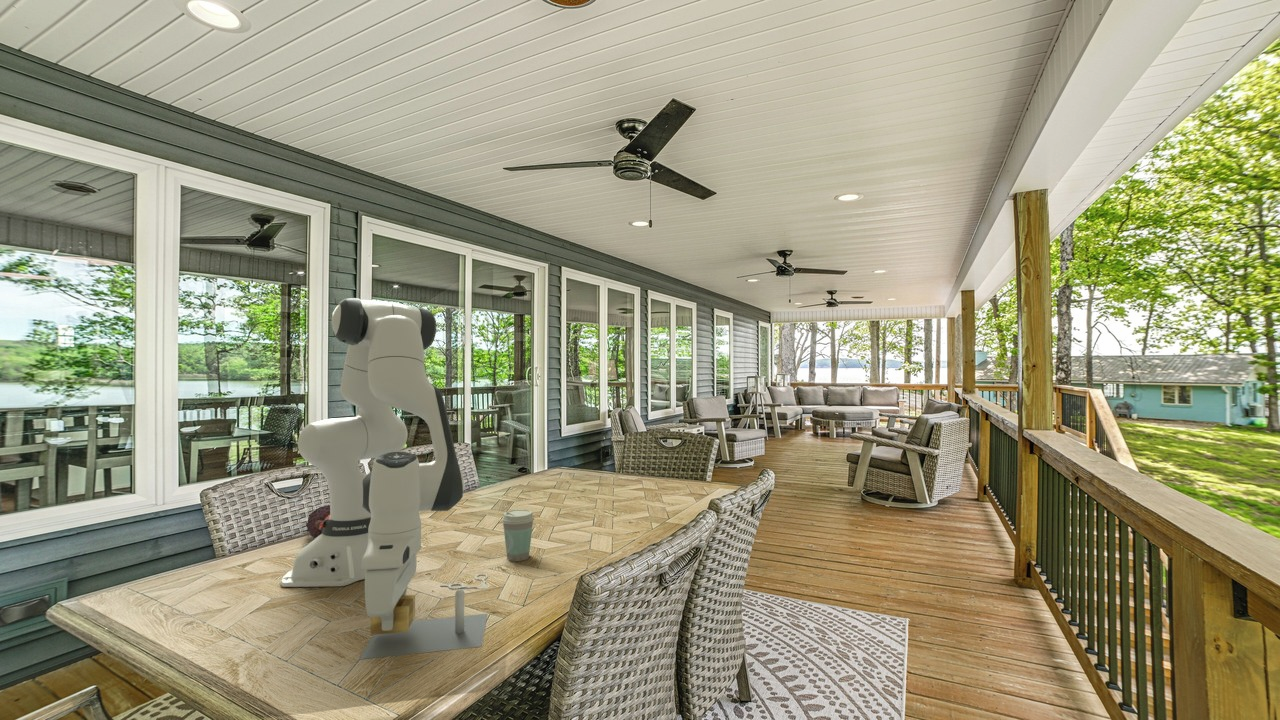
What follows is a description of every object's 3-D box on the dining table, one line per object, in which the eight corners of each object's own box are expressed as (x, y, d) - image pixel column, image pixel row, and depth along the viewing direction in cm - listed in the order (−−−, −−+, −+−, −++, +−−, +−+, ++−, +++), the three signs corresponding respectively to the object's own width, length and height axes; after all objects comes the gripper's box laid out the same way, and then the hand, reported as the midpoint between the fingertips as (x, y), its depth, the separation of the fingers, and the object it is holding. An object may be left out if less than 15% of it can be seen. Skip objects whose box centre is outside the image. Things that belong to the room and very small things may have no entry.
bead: (370, 634, 92) (371, 612, 92) (380, 618, 98) (381, 597, 98) (407, 631, 93) (407, 609, 93) (414, 616, 99) (415, 594, 99)
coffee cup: (504, 552, 146) (504, 509, 146) (535, 551, 146) (535, 508, 147) (499, 563, 137) (499, 517, 137) (532, 562, 138) (532, 516, 138)
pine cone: (297, 536, 161) (297, 504, 162) (332, 529, 169) (332, 498, 169) (317, 548, 150) (318, 513, 150) (354, 540, 157) (355, 506, 158)
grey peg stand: (358, 668, 88) (358, 612, 88) (380, 631, 101) (380, 582, 101) (481, 654, 92) (481, 601, 92) (487, 621, 105) (487, 574, 105)
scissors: (478, 571, 131) (531, 590, 119) (478, 574, 131) (531, 594, 119) (439, 585, 123) (492, 607, 110) (439, 588, 123) (492, 611, 110)
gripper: (392, 526, 106) (390, 595, 105) (357, 563, 85) (356, 649, 85) (425, 525, 107) (424, 593, 106) (399, 561, 87) (397, 645, 86)
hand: (393, 618), depth 96 cm, fingers closed on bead, 6 cm apart
